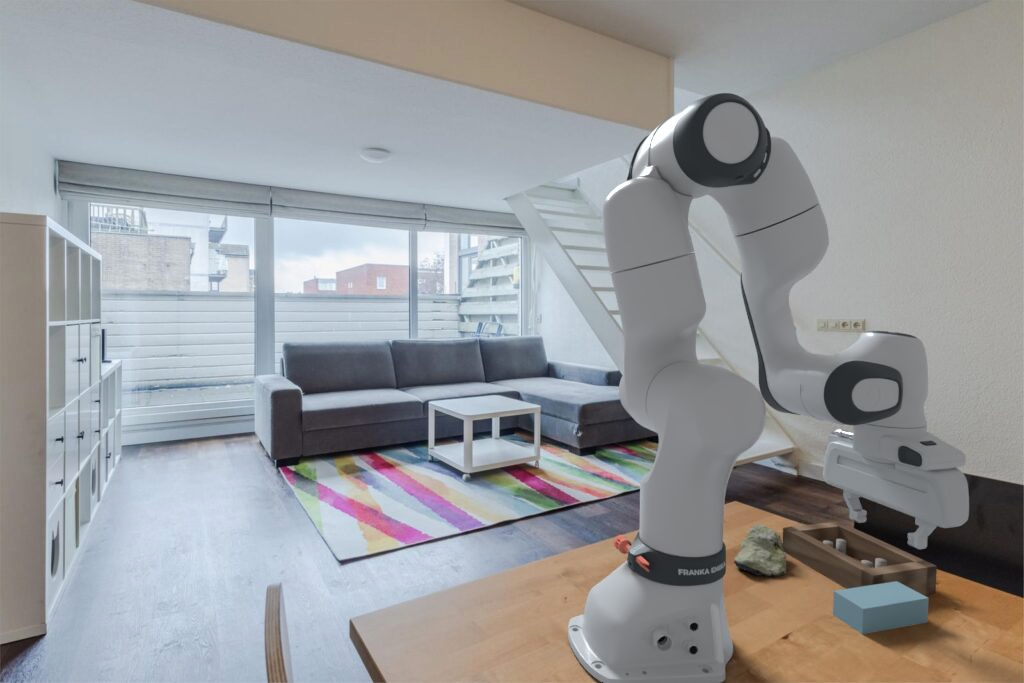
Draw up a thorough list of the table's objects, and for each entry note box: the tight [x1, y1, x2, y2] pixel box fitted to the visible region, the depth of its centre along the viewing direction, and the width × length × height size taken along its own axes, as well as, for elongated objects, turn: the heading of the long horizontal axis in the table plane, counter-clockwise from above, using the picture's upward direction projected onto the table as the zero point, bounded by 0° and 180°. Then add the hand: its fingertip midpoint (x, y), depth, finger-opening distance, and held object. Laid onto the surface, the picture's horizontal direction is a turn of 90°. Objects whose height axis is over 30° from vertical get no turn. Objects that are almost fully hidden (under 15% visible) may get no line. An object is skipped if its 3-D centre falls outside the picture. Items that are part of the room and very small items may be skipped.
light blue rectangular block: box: [832, 581, 930, 635], centre depth 79 cm, size 12×5×4 cm, turn 104°
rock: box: [733, 523, 787, 578], centre depth 97 cm, size 11×6×10 cm
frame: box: [782, 520, 938, 596], centre depth 94 cm, size 13×19×4 cm
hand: (885, 533), depth 79 cm, fingers open, 8 cm apart
